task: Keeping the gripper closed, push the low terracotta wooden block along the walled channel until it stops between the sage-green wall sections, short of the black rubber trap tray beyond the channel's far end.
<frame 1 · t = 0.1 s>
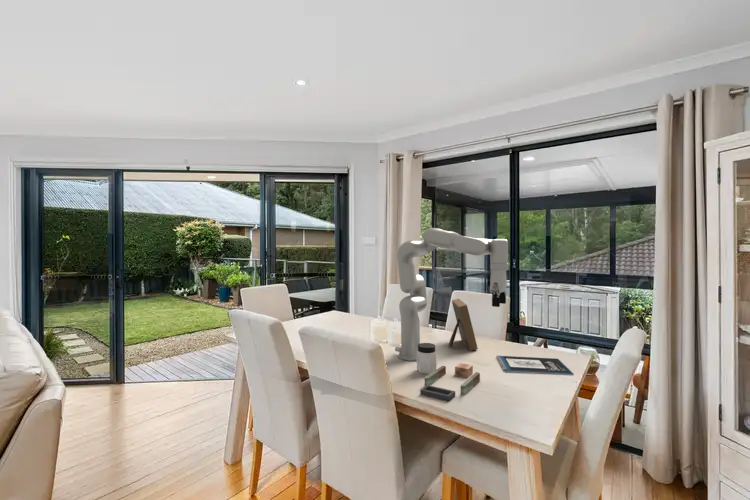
hand: (499, 304, 173), 31 cm above the table, tool pointing down, fingers open, 9 cm apart
trap tray: (437, 395, 150), on the table
terracotta block: (463, 374, 173), on the table
walled channel: (452, 383, 163), on the table
sketchbook: (532, 367, 185), on the table
photo frame: (460, 345, 221), on the table
jar: (426, 371, 178), on the table
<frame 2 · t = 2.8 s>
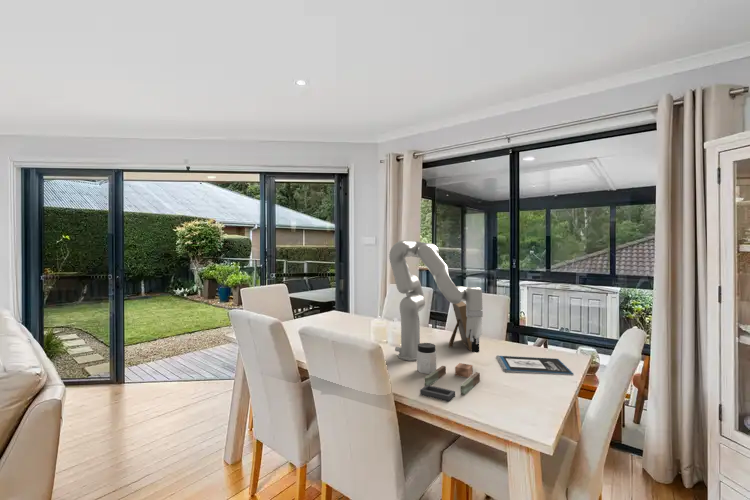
hand: (475, 351, 184), 7 cm above the table, tool pointing down, fingers closed
nothing on the table moved.
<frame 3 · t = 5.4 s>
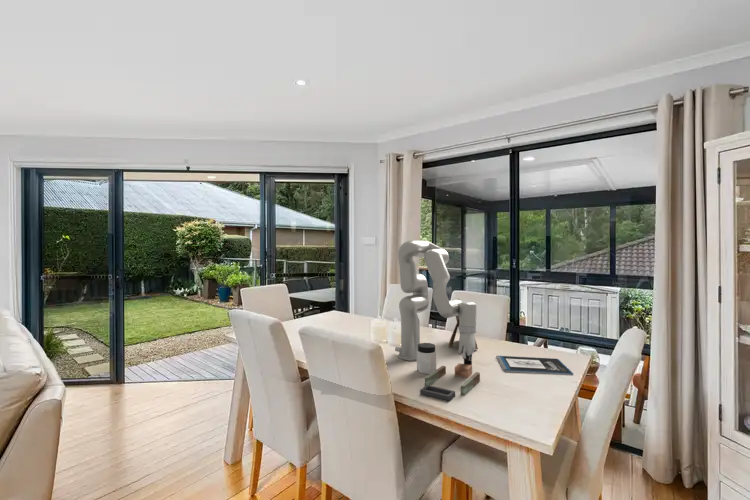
hand: (467, 368, 177), 1 cm above the table, tool pointing down, fingers closed
terracotta block: (463, 374, 173), on the table, touching gripper
everything else where it was.
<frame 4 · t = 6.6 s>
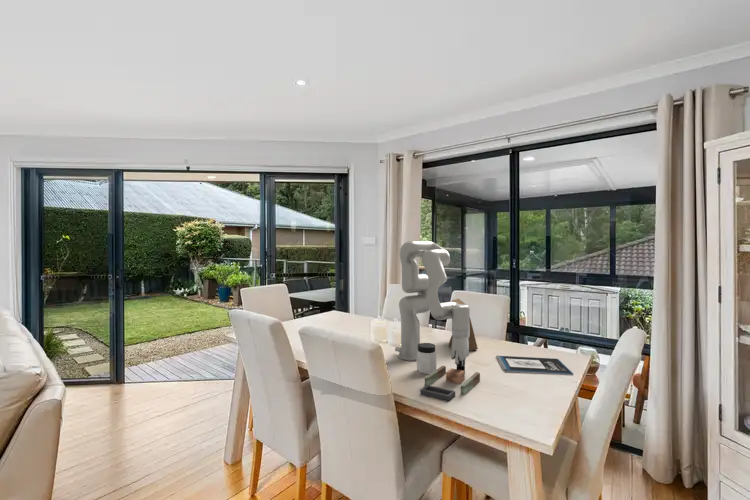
hand: (460, 374, 170), 1 cm above the table, tool pointing down, fingers closed
terracotta block: (455, 380, 166), on the table, touching gripper
everything else where it was.
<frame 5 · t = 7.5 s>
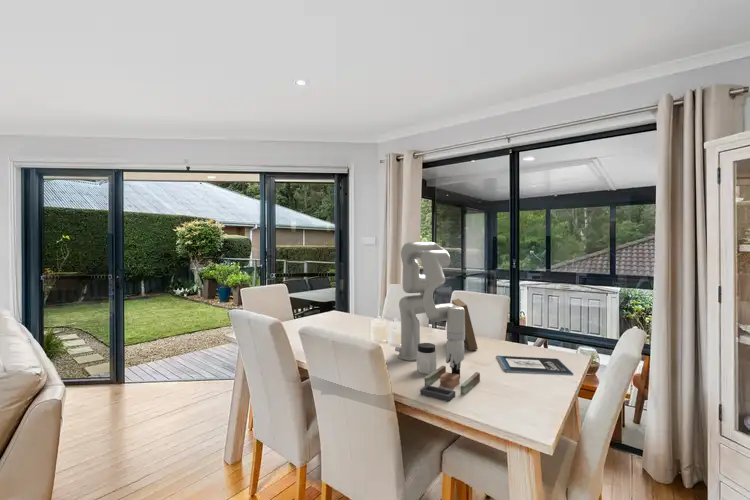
hand: (455, 378, 165), 1 cm above the table, tool pointing down, fingers closed
terracotta block: (449, 384, 161), on the table, touching gripper
everything else where it was.
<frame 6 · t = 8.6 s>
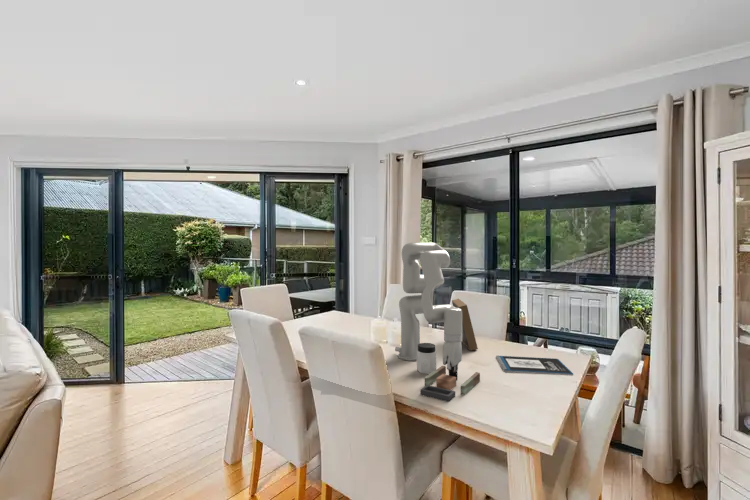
hand: (453, 380, 163), 1 cm above the table, tool pointing down, fingers closed
terracotta block: (446, 387, 159), on the table
everything else where it was.
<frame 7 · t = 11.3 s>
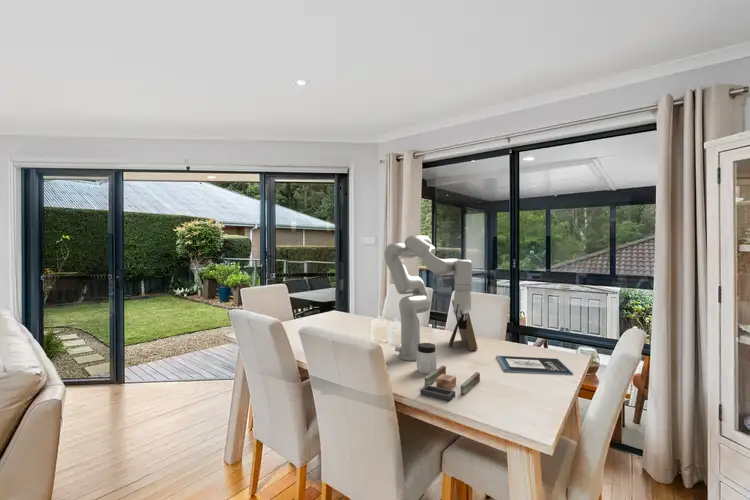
hand: (462, 328, 172), 21 cm above the table, tool pointing down, fingers closed
nothing on the table moved.
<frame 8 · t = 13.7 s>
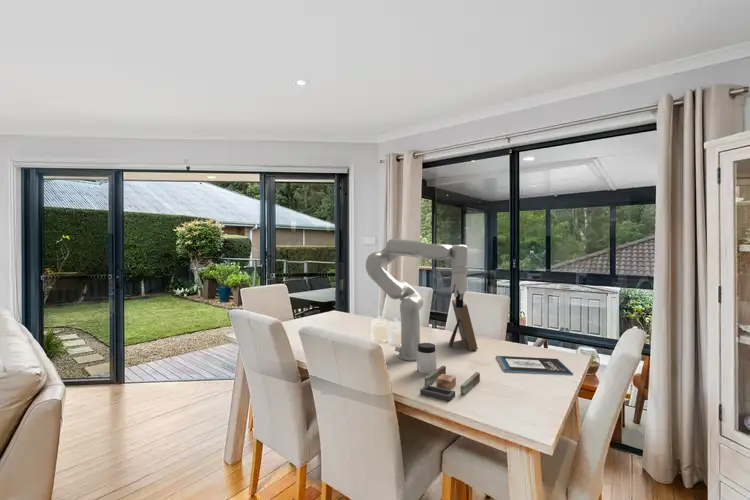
hand: (459, 307, 190), 27 cm above the table, tool pointing down, fingers closed
nothing on the table moved.
at the end: terracotta block inside the target area (1.1 cm from its centre), on the table; terracotta block tilted 0°; terracotta block touching table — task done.
